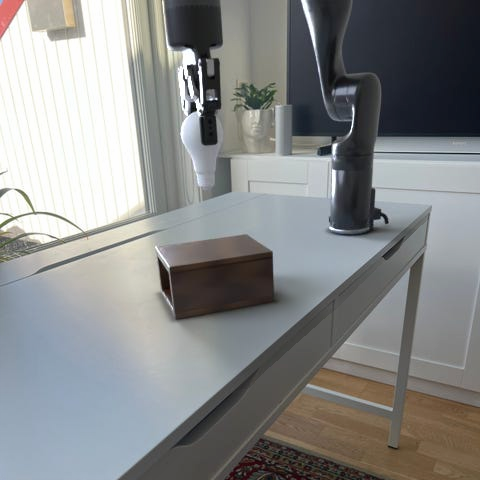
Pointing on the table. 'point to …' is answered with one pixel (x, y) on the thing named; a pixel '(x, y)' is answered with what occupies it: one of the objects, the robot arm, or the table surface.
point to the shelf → (215, 275)
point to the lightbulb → (201, 150)
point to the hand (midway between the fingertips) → (203, 143)
